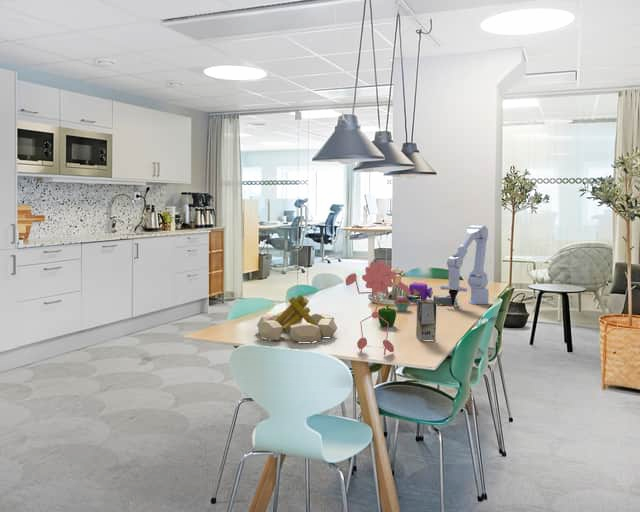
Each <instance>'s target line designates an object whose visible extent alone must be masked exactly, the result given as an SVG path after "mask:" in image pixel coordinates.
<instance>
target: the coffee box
mask: <svg viewBox="0 0 640 512" xmlns="http://www.w3.org/2000/svg"><path fill="white" fill-rule="evenodd" d="M436 323H437V305H436V303H435V302H433V300H432V299H426V300H417V301H416V332H415V333H416V334H415V336H417V337H418V338H419V339H420V340H435V341H436V330H437V326H436V325H437V324H436ZM417 337H416V338H417ZM418 338H417V339H418ZM419 339H418V340H419ZM420 340H419V341H420Z"/></svg>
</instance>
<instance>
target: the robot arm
mask: <svg viewBox="0 0 640 512" xmlns="http://www.w3.org/2000/svg"><path fill="white" fill-rule="evenodd" d="M488 237H489V229H488V228H487V226H486V225H473V224H471V225H469V226H468V228H467V229H466V236H465V238H464V239H463V241H462V243H461V245H458V246H457V248H455V251H454V253H453V254H452V256H449V258H448V259H447V261H446V265H447V270H448V285H440V287H439V288H440V290H446V291H448V294H449V295H450V296H451V299H452V300H451V304H454V301H455V298H457V295H458V293H459V292H465V293H467V292H468V287H463V286H460V276H461V267H462V266H463V263H464V258H465V257H466V255H467V254H468V247H470V245H471V244H472V242H474V241H475V242H476V245H475V255H474V264H473V270H472V271H470V272H469V275H468V277H467V278H468V279H467V283H468V285H469V288H470V300H468V301H467V302H468V303H470V304H471V305H489V288H488V287H487V285H488V274H487V273H486V272H485V271H484V267H485V260H486V252H487V251H486V250H487V241H488Z"/></svg>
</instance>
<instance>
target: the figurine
mask: <svg viewBox="0 0 640 512" xmlns="http://www.w3.org/2000/svg"><path fill="white" fill-rule="evenodd" d="M364 270H365V274H363V275H361V279H362V280H363V282H365V288H367V289H371V291H360V289H359V285H358V280H357V279H358V278H357V274H356V272H353V273H350V274H349V275H348V276H347V277H346V278H345V280H344V281H345V285H346V287H348V286H350V285H352V284H354V283H355V285H356V290H357V293H358V294H359V295H360V294H361V295H363V294H373V295H374V296H375V297H376V298H377V299H378V300H377V303H376V307H375V310H374V311H372V313H371V315H370V316H368V317H366V318H364V319H362V320H360V322H359V324H360V329H361V333H360V334H361V337H360V338H359V339H358V340H357V342H356V345H357V346H356V347H358V350H359V351H360V352H359V354H360V353H363V349H364V348H365V346H368V340H367V338H366V337H364V335H363V334H364V333H363V325H362V322H364V321H366V320H368V319H370V318H372V319H379V318H378V317H380V316H379V314H378V308H379V304H380V301H381V298H380V297H382V298H385V299H388V298H390V296H391V294H392V293H393V292H394V291H395V290H396V289H397V287H398V286H399V288H400V289H401V290H402V291H403V292H404V293H405V292H406V294H407V295H408V296H409V295H410V290H409V286H407V285H406V284H404V283H403V282H402V281H401V280H399V281H398V282H397V284H396V285H395V286H394V282H393V280H394V279H395V278H396V275H395V274H394V273H393V272H391V270H392V265H390V264H386V263H385V262H384V261H380V262H378V263H377V262H376V261H374V260H372V261H371V262H370V263H369V266H365V269H364ZM388 288H392V290H391V291H390V292H389V293H388V294H387V296H385V295H383V294H386V293H387V291H388ZM379 292H381V293H383V294H380V293H379ZM379 296H380V297H379ZM380 318H381V317H380ZM381 319H382V320H384V319H383V318H381ZM384 321H385V320H384ZM385 322H386V321H385ZM386 323H388V322H386ZM386 327H387V329H386V336H385V337H386V339H383V340H382V345H383V348H384V347H385V348H384V349H383V355H385V356H386V351H388V352H390V353H391V352H393V353H394V351H395V348H394V347H395V346H394V345H393V343H392V342H391V341H390V340H388V337H389V336H388V335H389V324H388V326H386ZM360 349H361V350H360Z"/></svg>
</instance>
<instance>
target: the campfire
mask: <svg viewBox="0 0 640 512" xmlns="http://www.w3.org/2000/svg"><path fill="white" fill-rule="evenodd" d="M288 302H289V303H290V304H289V306H288V307H286V309H285V310H283V311H280V312H278V313H276V314H271V313H270V314H269V313H268V314H267V313H266V314H263V315H262V316H261V317H260V320H258V322H257V325H256V326H257V328H258V329H257V332H258V333H259V334H260V336H261V338H262V337H263V338H266V339H268V340H276V341H279V340H280V338H281V336H282V334H283V333H285V334H286V333H287V332H288V331H290V338H291V339H292V340H293V341H295V342H296V341H298V342H314V341H317V340H318V341H320V340H322V338H321V337H331V338H332V337H333V336H334V335H333V334H335V333H336V331H337V330H338V325H337V324H336V323H335V321H334V320H335V317H334V316H332V315H331V314H329V313H327V312H318V313H313V314H311V315H310V314H309V313H310V311H311V309H310V307H308V306H307V305H308V304H309V302H310V301H309V300H308V299H307V298H305V297H304V296H303V295H301V294H299V295H298V296H297V297H295V296H293V297H292V298H291V299H289V300H288ZM303 319H304V321H305V322H303ZM332 335H333V336H332ZM268 340H267V341H268ZM318 341H317V342H318ZM298 342H297V343H298Z"/></svg>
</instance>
